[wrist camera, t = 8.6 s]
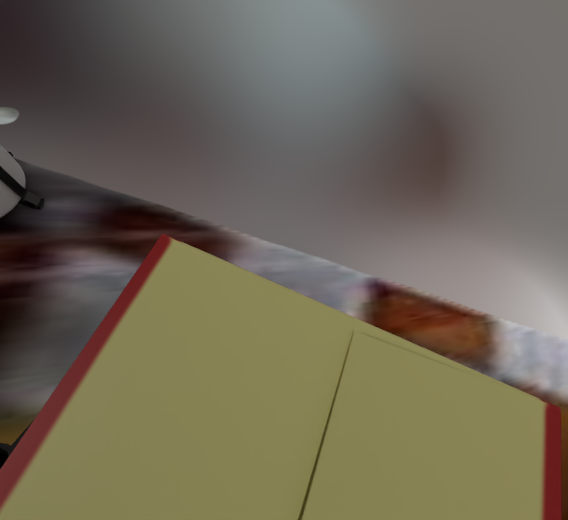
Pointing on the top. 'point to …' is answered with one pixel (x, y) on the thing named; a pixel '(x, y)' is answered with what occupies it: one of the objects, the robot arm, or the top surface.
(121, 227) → the top surface
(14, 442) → the robot arm
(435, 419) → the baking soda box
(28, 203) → the coffee press
